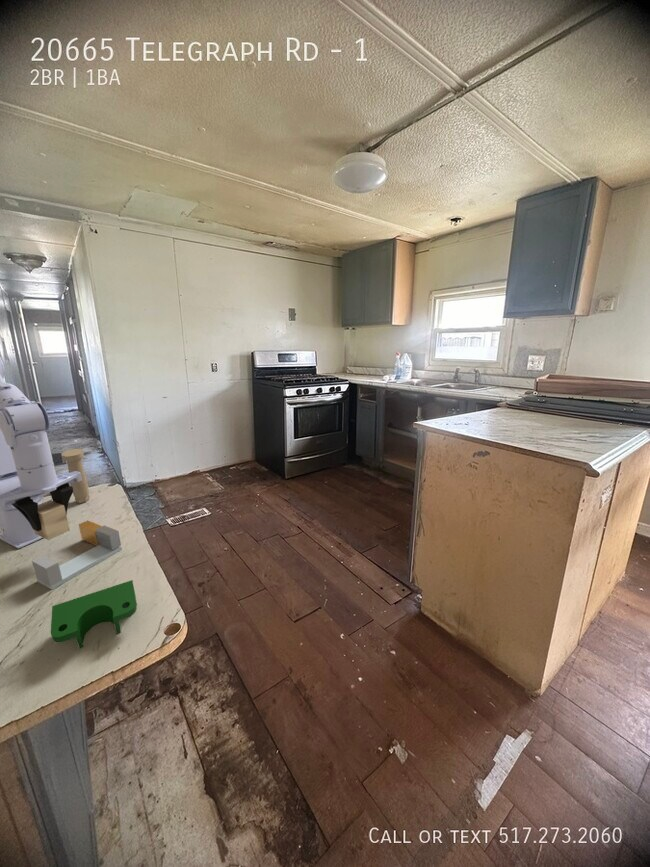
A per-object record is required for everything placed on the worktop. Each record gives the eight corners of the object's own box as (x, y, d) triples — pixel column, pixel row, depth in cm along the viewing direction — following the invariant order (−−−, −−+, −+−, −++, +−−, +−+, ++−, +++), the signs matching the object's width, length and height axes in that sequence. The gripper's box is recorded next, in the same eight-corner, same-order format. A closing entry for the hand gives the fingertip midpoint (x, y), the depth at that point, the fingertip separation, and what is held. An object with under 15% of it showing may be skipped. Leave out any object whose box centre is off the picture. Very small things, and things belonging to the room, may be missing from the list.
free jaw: (81, 539, 79) (78, 522, 78) (90, 535, 81) (87, 518, 80) (113, 553, 75) (109, 535, 73) (121, 548, 76) (118, 531, 75)
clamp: (79, 666, 54) (37, 648, 49) (79, 633, 59) (40, 613, 53) (151, 619, 58) (120, 597, 52) (146, 591, 62) (117, 567, 56)
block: (35, 533, 71) (28, 508, 69) (56, 524, 74) (50, 500, 73) (48, 540, 69) (42, 514, 67) (69, 530, 72) (64, 505, 71)
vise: (37, 581, 66) (31, 560, 65) (107, 543, 79) (104, 525, 77) (51, 589, 64) (46, 568, 63) (121, 549, 76) (118, 531, 75)
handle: (73, 508, 94) (61, 457, 90) (72, 499, 99) (61, 451, 94) (93, 503, 97) (83, 454, 92) (92, 494, 102) (82, 447, 97)
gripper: (-2, 481, 59) (17, 548, 63) (85, 456, 72) (96, 512, 76) (-21, 474, 62) (-1, 537, 66) (66, 450, 75) (78, 505, 79)
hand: (50, 524), depth 71 cm, fingers closed on block, 4 cm apart
